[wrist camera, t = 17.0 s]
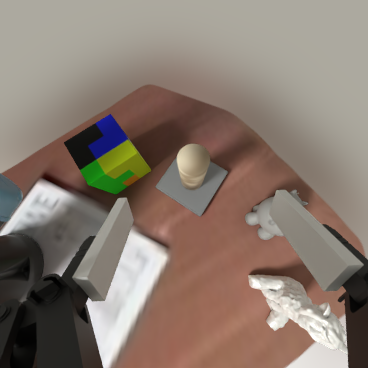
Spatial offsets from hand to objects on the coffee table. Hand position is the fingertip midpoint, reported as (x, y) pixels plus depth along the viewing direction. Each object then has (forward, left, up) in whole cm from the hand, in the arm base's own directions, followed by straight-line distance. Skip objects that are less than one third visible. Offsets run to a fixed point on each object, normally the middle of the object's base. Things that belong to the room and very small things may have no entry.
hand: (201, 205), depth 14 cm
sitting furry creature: (+21, -4, -21) cm, 30 cm away
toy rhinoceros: (+14, +10, -21) cm, 27 cm away
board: (-5, +6, -20) cm, 22 cm away
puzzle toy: (-21, 0, -21) cm, 29 cm away
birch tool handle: (-4, +6, -19) cm, 21 cm away
